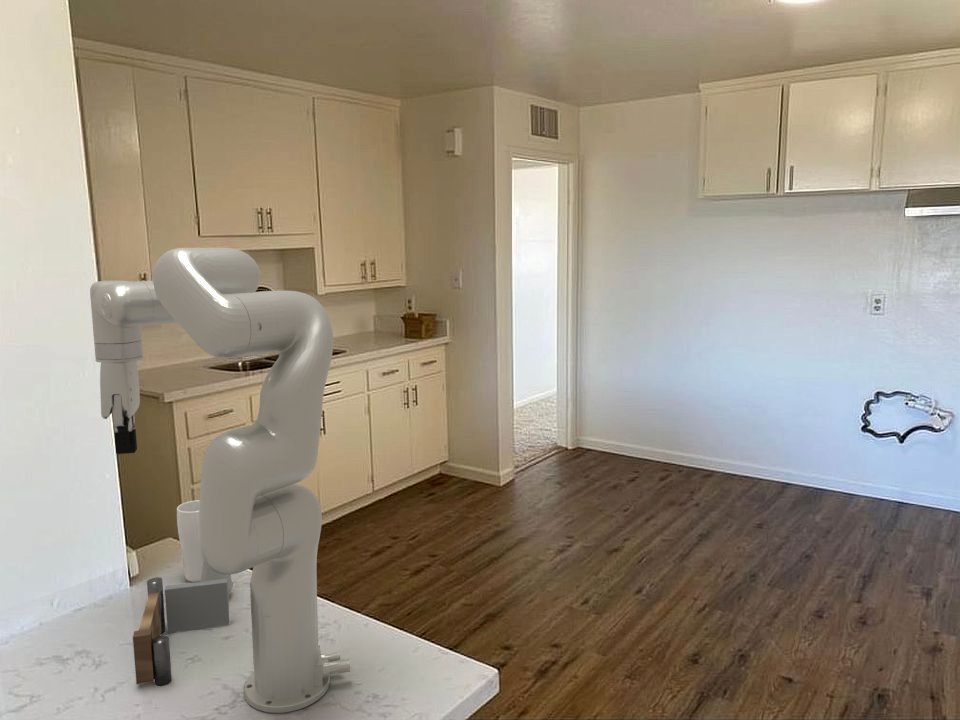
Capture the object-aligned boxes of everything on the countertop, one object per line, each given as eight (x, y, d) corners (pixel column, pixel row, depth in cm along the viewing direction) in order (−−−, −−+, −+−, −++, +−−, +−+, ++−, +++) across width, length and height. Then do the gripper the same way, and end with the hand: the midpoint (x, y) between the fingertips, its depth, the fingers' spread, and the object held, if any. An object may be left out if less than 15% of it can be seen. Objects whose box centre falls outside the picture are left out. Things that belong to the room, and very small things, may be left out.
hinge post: (166, 627, 126) (163, 576, 125) (164, 634, 124) (161, 583, 123) (151, 629, 126) (147, 578, 124) (149, 636, 123) (145, 584, 122)
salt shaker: (239, 595, 138) (236, 531, 136) (214, 608, 133) (210, 541, 131) (219, 587, 141) (216, 524, 139) (194, 600, 136) (190, 534, 134)
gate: (149, 633, 123) (146, 591, 122) (164, 631, 124) (161, 589, 122) (136, 684, 109) (132, 637, 108) (153, 681, 110) (150, 634, 108)
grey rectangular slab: (229, 620, 129) (227, 578, 127) (228, 624, 127) (226, 582, 126) (168, 628, 126) (165, 585, 125) (167, 633, 125) (164, 589, 123)
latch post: (172, 675, 113) (169, 634, 111) (170, 685, 110) (167, 642, 109) (155, 678, 112) (152, 636, 111) (153, 687, 110) (150, 645, 108)
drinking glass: (204, 586, 141) (200, 513, 139) (173, 583, 143) (168, 510, 140) (223, 571, 148) (219, 501, 145) (193, 567, 149) (189, 498, 147)
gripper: (104, 345, 133) (112, 442, 136) (85, 359, 119) (94, 466, 122) (148, 344, 135) (155, 439, 138) (135, 357, 121) (142, 463, 124)
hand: (126, 452), depth 130 cm, fingers closed
